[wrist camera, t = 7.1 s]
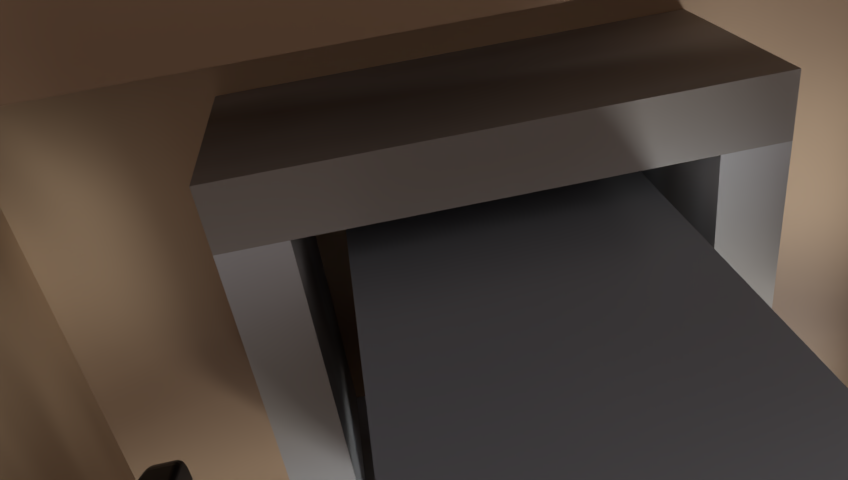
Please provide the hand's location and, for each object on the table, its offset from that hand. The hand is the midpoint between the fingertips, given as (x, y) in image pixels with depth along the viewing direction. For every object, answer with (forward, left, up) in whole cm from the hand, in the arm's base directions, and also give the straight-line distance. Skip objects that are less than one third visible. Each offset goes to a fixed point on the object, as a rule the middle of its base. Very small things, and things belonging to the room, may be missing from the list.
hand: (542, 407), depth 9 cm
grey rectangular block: (0, 0, -4) cm, 4 cm away
